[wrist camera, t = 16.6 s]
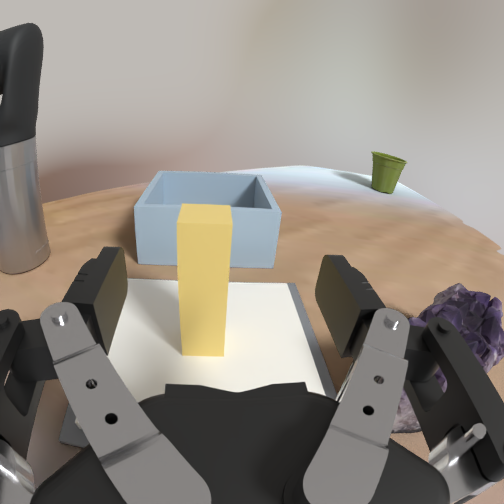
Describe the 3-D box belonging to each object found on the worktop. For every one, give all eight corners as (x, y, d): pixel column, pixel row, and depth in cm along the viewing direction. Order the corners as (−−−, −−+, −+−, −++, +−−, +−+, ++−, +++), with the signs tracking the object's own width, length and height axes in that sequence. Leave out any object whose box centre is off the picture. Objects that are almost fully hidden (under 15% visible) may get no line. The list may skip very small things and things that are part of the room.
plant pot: (400, 199, 82) (409, 164, 77) (363, 189, 86) (371, 153, 81) (398, 191, 92) (405, 159, 87) (365, 182, 96) (371, 149, 90)
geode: (412, 482, 15) (475, 403, 11) (322, 402, 25) (341, 313, 21) (502, 364, 25) (535, 291, 21) (434, 324, 34) (455, 254, 30)
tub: (138, 263, 38) (133, 206, 35) (159, 213, 54) (159, 170, 50) (273, 268, 41) (281, 212, 37) (256, 216, 57) (261, 175, 53)
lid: (79, 428, 17) (7, 287, 11) (124, 285, 33) (114, 175, 27) (331, 432, 20) (403, 299, 13) (285, 290, 36) (304, 183, 30)
